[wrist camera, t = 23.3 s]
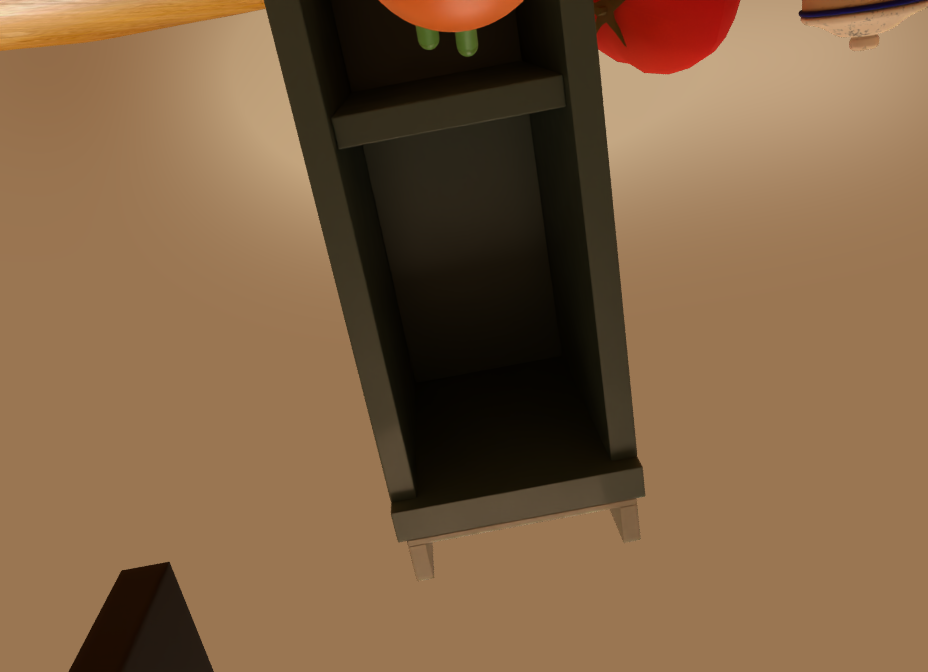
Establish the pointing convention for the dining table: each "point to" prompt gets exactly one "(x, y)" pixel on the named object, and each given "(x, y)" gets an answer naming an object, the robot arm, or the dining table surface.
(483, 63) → the stand
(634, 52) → the tomato
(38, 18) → the dining table surface
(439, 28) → the carrot
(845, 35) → the teacup with lid
